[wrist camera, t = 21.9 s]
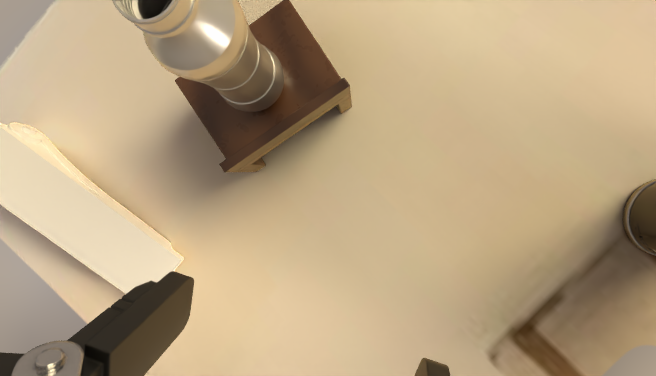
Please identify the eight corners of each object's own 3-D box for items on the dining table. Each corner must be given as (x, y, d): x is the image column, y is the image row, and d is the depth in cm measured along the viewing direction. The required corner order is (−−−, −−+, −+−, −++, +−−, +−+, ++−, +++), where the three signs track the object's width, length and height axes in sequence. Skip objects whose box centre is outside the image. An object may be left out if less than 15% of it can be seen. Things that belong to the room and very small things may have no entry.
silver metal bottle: (216, 78, 38) (56, -25, 18) (266, 40, 37) (159, -112, 17) (250, 128, 38) (128, 80, 18) (301, 90, 37) (234, -4, 17)
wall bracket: (200, 244, 53) (41, 125, 50) (190, 249, 45) (3, 111, 43) (155, 299, 51) (-12, 180, 48) (137, 314, 44) (-61, 174, 41)
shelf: (299, 28, 44) (280, -19, 34) (352, 106, 44) (349, 85, 33) (206, 95, 46) (158, 72, 35) (256, 172, 46) (224, 172, 35)
